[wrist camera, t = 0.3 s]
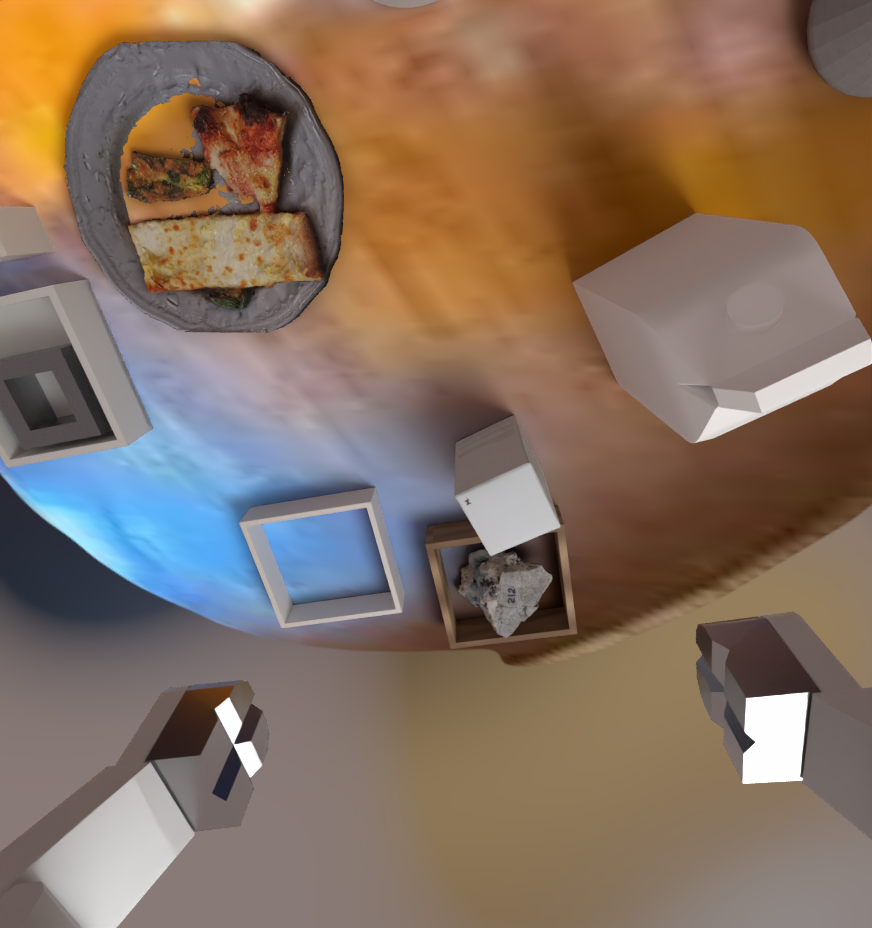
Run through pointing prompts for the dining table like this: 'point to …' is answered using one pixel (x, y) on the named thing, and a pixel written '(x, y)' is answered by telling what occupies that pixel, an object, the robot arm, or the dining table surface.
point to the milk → (723, 322)
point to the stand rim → (481, 628)
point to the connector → (22, 234)
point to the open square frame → (330, 608)
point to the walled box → (83, 325)
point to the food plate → (208, 187)
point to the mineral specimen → (503, 588)
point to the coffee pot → (842, 44)
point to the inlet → (30, 408)
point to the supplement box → (502, 487)
